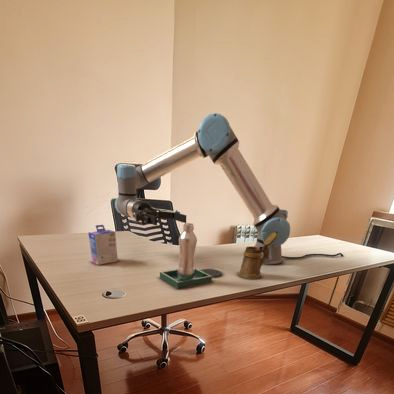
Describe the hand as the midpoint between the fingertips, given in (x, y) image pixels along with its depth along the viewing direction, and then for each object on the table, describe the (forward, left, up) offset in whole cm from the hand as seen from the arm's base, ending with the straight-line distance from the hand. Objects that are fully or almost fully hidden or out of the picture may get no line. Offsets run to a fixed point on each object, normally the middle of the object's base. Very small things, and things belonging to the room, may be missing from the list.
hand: (171, 220), depth 112 cm
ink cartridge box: (+18, -24, -20) cm, 36 cm away
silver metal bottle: (-1, +10, -20) cm, 22 cm away
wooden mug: (-30, +18, -20) cm, 41 cm away
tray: (-1, +10, -20) cm, 22 cm away
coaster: (-15, +8, -20) cm, 26 cm away
